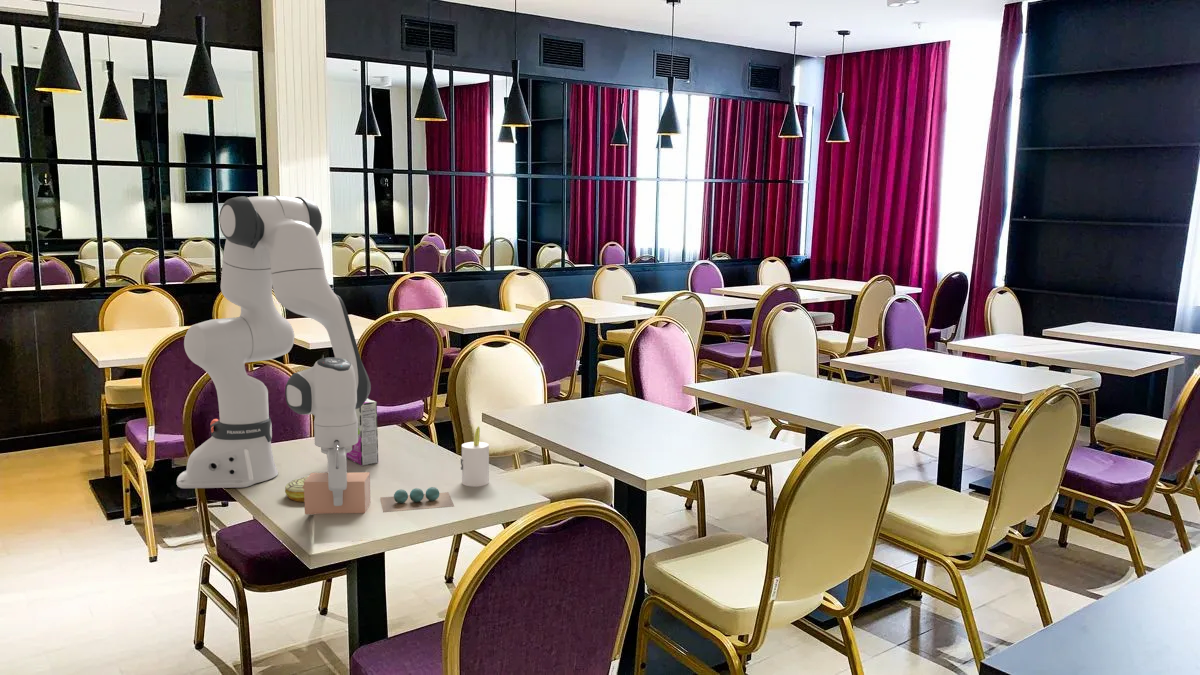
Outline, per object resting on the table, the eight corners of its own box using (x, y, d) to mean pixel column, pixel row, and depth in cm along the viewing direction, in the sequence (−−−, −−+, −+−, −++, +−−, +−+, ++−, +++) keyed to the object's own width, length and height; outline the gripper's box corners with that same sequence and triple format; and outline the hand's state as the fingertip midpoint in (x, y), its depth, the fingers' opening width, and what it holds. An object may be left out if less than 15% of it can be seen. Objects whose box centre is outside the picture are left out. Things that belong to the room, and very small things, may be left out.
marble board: (383, 518, 188) (382, 498, 187) (380, 504, 197) (380, 484, 197) (454, 512, 192) (454, 492, 192) (448, 498, 202) (448, 479, 201)
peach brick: (304, 514, 186) (303, 482, 185) (312, 504, 193) (311, 472, 192) (365, 513, 187) (364, 481, 186) (370, 503, 194) (369, 472, 193)
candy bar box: (342, 457, 234) (340, 396, 232) (360, 454, 237) (358, 394, 235) (361, 466, 226) (359, 403, 223) (379, 463, 229) (378, 401, 227)
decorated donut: (339, 489, 208) (339, 473, 208) (327, 504, 197) (326, 487, 197) (294, 489, 208) (293, 473, 207) (279, 504, 197) (279, 487, 197)
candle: (458, 485, 211) (458, 424, 209) (485, 483, 213) (485, 422, 211) (463, 493, 205) (463, 430, 203) (491, 491, 208) (491, 428, 206)
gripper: (353, 446, 179) (354, 513, 181) (350, 423, 198) (352, 483, 200) (320, 448, 177) (322, 515, 179) (320, 425, 196) (322, 485, 198)
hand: (337, 498), depth 190 cm, fingers closed on peach brick, 7 cm apart
